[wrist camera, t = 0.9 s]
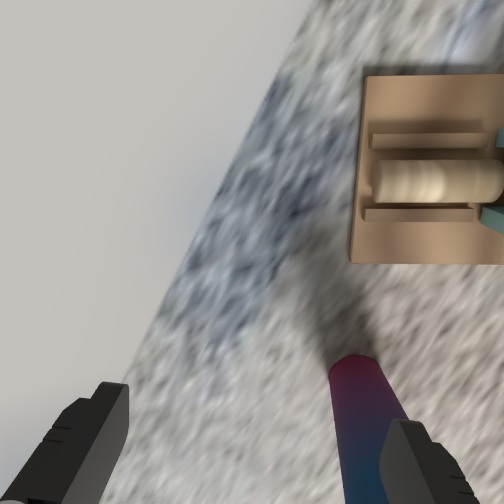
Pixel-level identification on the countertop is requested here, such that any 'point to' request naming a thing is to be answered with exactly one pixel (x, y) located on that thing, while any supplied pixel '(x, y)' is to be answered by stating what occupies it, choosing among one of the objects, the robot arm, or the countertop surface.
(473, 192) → the dowel
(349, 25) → the countertop surface
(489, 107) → the board
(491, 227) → the block
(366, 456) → the cup
